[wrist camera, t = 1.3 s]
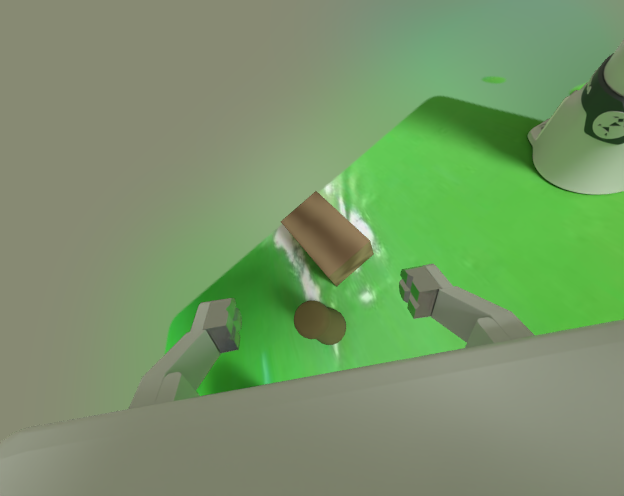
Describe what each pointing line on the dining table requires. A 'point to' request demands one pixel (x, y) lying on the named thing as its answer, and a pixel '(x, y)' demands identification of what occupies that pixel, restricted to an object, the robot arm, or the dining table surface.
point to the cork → (319, 322)
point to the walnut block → (328, 238)
